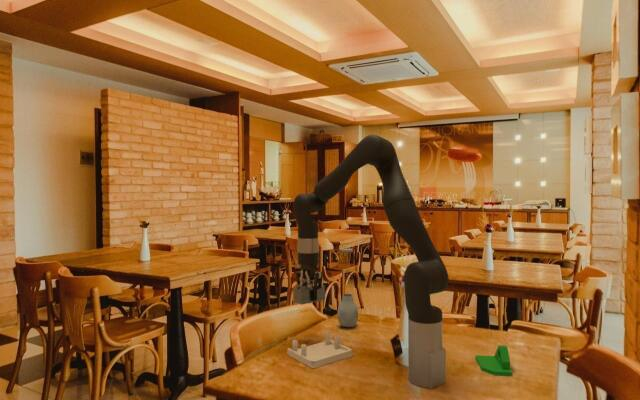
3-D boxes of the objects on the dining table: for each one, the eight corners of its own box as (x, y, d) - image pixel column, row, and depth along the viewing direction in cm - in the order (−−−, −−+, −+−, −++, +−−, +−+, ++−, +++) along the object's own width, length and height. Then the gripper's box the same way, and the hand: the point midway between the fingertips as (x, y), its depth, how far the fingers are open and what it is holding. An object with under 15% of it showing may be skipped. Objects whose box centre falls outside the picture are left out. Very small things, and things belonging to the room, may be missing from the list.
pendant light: (333, 325, 175) (332, 248, 174) (352, 322, 179) (351, 247, 178) (343, 331, 168) (342, 251, 167) (362, 328, 171) (361, 249, 170)
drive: (325, 299, 158) (324, 285, 158) (301, 304, 152) (301, 289, 152) (316, 297, 162) (316, 283, 162) (293, 301, 156) (293, 287, 156)
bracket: (475, 359, 140) (475, 338, 140) (501, 360, 139) (501, 339, 139) (483, 376, 128) (483, 352, 128) (512, 377, 127) (512, 353, 127)
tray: (353, 356, 143) (353, 340, 143) (312, 368, 134) (312, 352, 134) (326, 343, 155) (326, 329, 154) (287, 354, 145) (287, 339, 145)
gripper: (329, 251, 153) (330, 301, 153) (305, 247, 164) (306, 294, 165) (311, 254, 148) (312, 305, 149) (288, 249, 160) (288, 297, 160)
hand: (309, 299), depth 157 cm, fingers closed on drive, 5 cm apart
